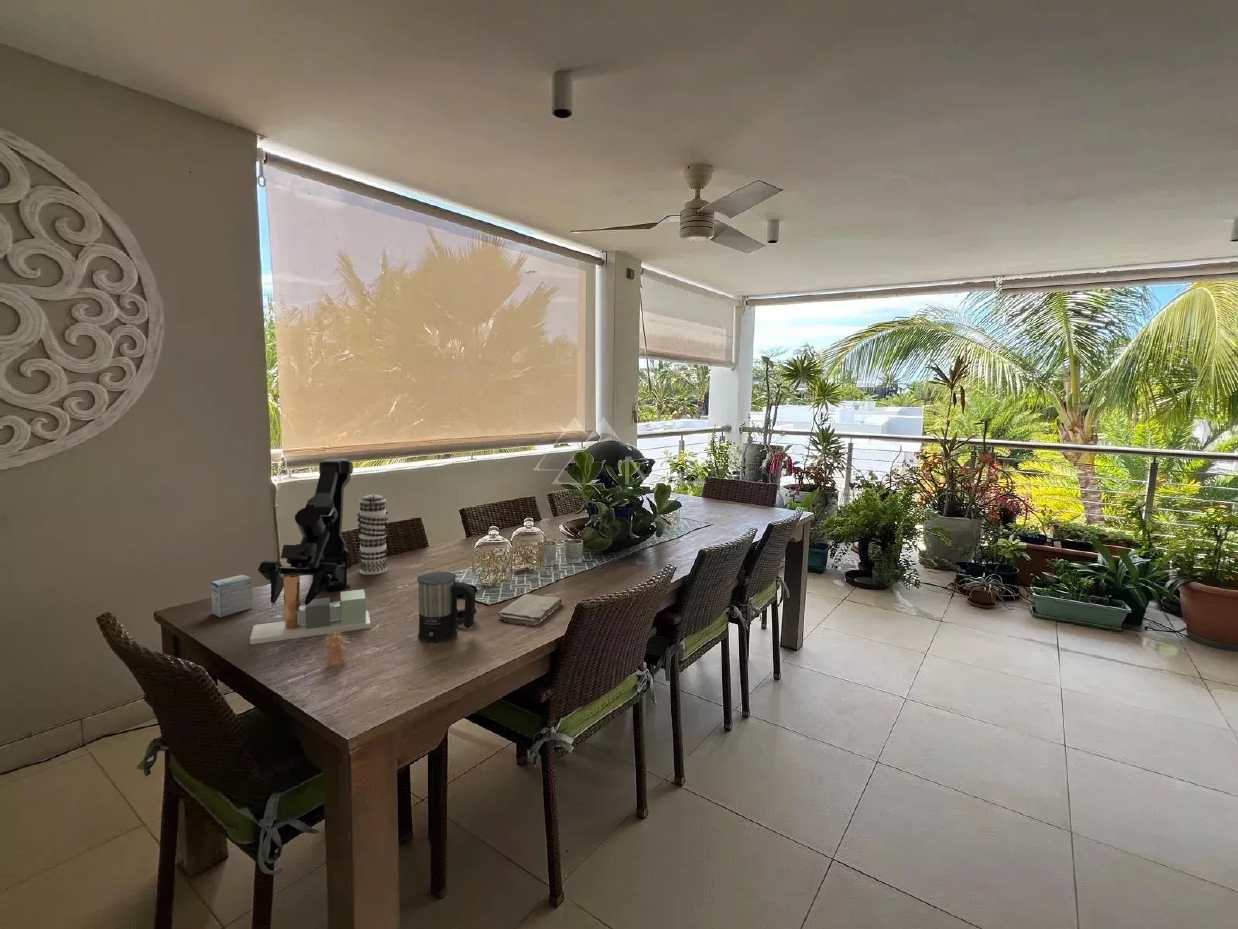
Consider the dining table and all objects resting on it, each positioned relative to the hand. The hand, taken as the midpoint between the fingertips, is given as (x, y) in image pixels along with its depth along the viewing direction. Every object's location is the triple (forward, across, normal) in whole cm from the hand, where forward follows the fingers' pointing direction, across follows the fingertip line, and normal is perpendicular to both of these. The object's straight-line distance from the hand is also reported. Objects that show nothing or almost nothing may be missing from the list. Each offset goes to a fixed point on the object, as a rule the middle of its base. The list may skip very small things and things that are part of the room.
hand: (289, 603), depth 136 cm
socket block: (-1, +12, +10) cm, 15 cm away
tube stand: (+3, +4, +8) cm, 9 cm away
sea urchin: (+16, +18, -5) cm, 25 cm away
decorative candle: (-30, 0, +41) cm, 51 cm away
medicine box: (-4, -22, +15) cm, 27 cm away
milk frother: (+2, +36, +9) cm, 38 cm away
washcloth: (-7, +56, +19) cm, 59 cm away
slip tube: (+1, +6, +7) cm, 9 cm away
